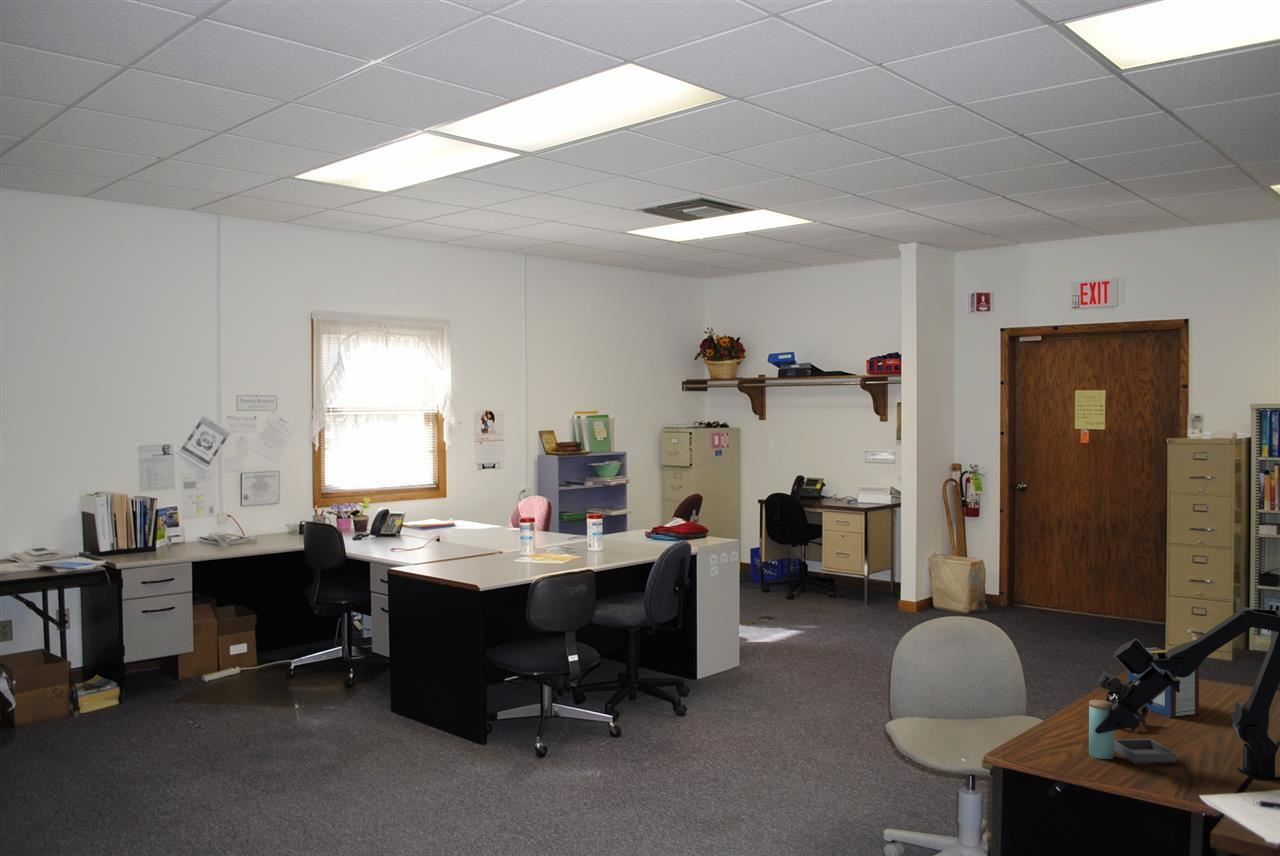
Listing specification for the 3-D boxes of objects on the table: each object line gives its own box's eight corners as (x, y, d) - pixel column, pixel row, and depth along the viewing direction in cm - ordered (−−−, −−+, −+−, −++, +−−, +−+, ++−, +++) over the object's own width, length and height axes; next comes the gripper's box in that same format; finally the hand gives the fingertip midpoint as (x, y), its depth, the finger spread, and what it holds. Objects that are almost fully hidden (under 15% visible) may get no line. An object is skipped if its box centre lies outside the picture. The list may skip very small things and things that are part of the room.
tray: (1176, 763, 230) (1176, 753, 230) (1135, 764, 230) (1135, 754, 230) (1150, 748, 241) (1151, 738, 240) (1111, 749, 240) (1111, 739, 240)
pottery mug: (1135, 737, 251) (1117, 707, 254) (1109, 742, 259) (1093, 713, 262) (1164, 719, 256) (1147, 689, 259) (1139, 725, 264) (1122, 696, 267)
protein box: (1154, 699, 283) (1155, 646, 283) (1199, 715, 268) (1200, 659, 268) (1126, 702, 280) (1126, 649, 279) (1170, 718, 265) (1170, 662, 265)
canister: (1118, 759, 233) (1118, 706, 233) (1096, 760, 233) (1096, 706, 232) (1106, 751, 238) (1106, 699, 238) (1084, 752, 238) (1084, 699, 238)
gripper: (1116, 653, 242) (1068, 692, 247) (1123, 672, 225) (1071, 713, 229) (1151, 688, 240) (1101, 727, 244) (1161, 709, 222) (1108, 750, 226)
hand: (1095, 728), depth 236 cm, fingers closed on canister, 5 cm apart
